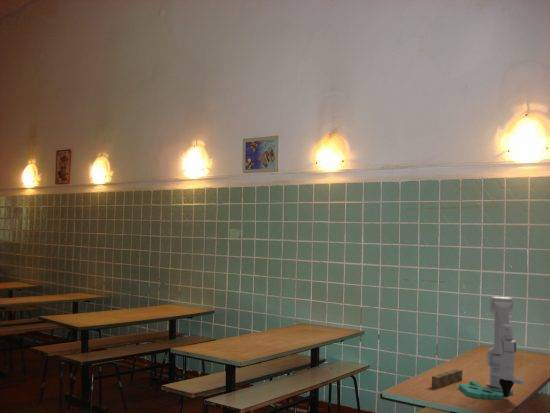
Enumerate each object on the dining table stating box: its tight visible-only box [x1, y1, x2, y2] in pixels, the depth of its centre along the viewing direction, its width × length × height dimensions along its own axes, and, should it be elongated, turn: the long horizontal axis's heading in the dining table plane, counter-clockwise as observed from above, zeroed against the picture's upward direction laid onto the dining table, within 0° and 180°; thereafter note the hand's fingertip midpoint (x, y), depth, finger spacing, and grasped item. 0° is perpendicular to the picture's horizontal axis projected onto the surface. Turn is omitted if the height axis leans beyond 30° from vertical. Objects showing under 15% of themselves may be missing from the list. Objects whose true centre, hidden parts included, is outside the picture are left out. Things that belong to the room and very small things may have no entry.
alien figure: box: [458, 380, 514, 400], centre depth 259 cm, size 20×2×20 cm
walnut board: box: [431, 368, 463, 389], centre depth 272 cm, size 24×3×5 cm, turn 133°
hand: (506, 396), depth 251 cm, fingers closed
